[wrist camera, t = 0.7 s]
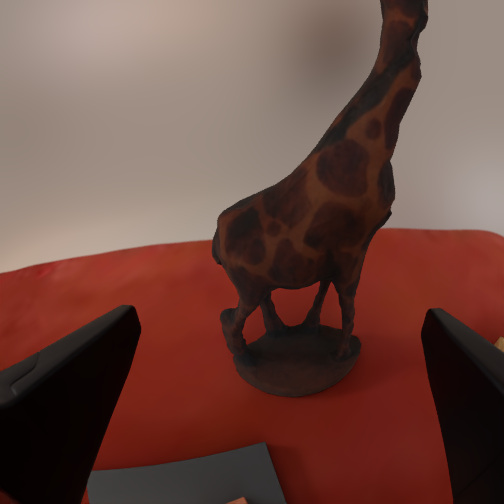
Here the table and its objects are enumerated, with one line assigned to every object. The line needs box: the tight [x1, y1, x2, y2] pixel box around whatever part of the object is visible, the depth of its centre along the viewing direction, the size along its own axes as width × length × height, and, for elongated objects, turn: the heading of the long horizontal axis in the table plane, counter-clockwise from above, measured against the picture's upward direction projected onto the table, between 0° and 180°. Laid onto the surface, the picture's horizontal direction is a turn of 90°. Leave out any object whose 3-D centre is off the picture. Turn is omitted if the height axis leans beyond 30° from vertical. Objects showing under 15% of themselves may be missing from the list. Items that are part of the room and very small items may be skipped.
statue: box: [212, 0, 428, 397], centre depth 15 cm, size 12×7×30 cm, turn 95°
